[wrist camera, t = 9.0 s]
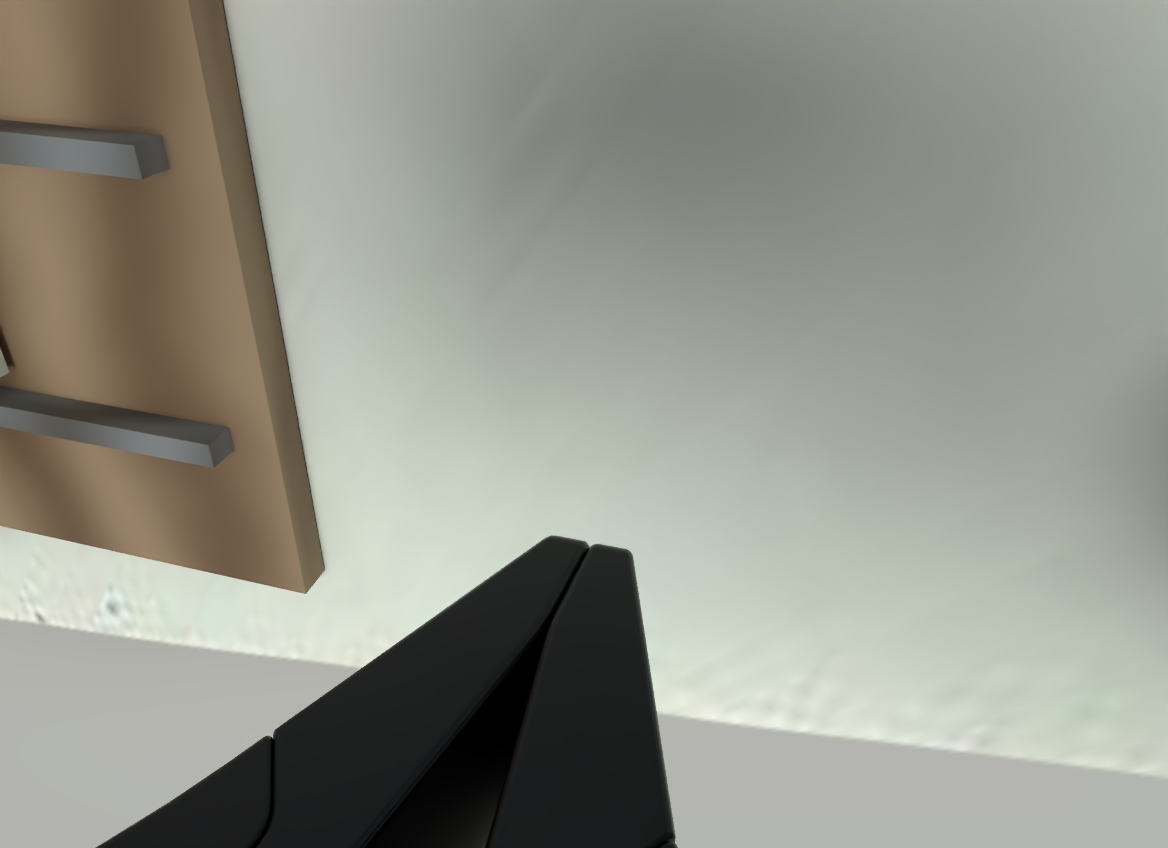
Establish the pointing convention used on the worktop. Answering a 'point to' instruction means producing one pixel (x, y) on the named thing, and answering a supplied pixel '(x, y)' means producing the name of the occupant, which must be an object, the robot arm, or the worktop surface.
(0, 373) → the pale green capped bottle
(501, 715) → the robot arm
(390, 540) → the worktop surface
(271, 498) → the knob mount
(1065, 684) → the worktop surface
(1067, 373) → the worktop surface
